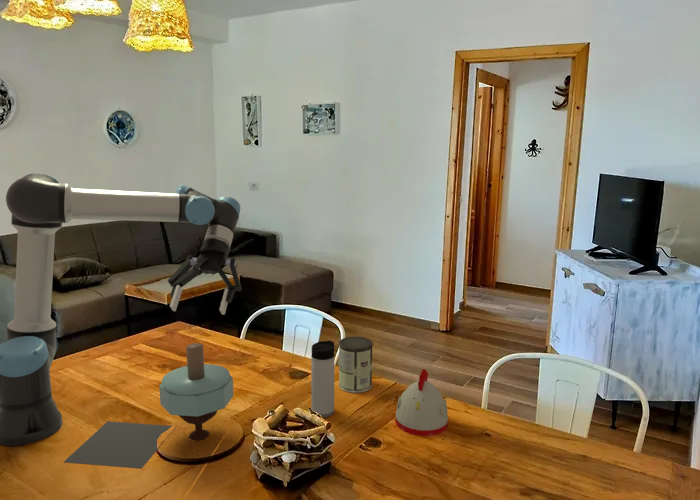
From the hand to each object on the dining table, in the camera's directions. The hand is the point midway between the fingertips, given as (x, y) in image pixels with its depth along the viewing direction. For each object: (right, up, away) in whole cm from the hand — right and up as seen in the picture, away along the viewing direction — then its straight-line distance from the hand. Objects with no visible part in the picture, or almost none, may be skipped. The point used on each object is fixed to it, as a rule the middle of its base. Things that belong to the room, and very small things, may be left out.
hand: (197, 310), depth 147 cm
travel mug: (+33, -29, +7) cm, 45 cm away
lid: (+2, -21, -8) cm, 23 cm away
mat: (-15, -32, -10) cm, 37 cm away
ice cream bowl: (+2, -31, -6) cm, 32 cm away
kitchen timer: (+60, -31, +2) cm, 67 cm away
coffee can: (+42, -26, +24) cm, 55 cm away
